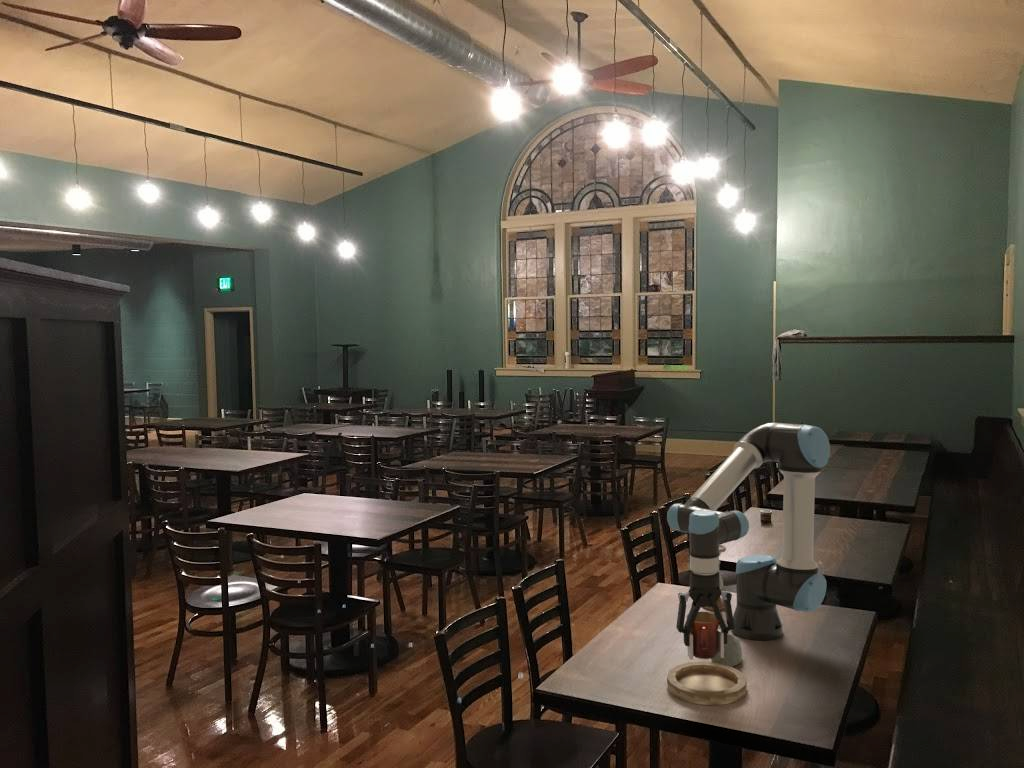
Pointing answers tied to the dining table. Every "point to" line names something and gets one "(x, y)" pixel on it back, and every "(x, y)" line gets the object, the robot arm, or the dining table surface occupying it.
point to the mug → (705, 635)
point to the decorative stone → (730, 652)
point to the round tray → (706, 683)
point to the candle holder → (720, 600)
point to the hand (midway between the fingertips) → (705, 656)
